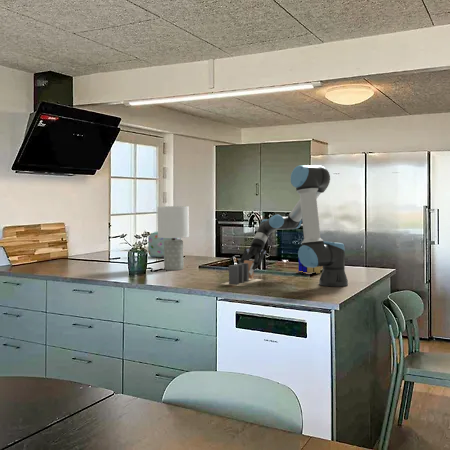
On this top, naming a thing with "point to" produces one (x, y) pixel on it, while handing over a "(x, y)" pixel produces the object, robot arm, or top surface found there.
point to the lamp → (173, 233)
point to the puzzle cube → (308, 268)
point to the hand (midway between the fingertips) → (245, 273)
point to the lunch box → (156, 245)
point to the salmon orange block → (249, 268)
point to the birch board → (244, 282)
